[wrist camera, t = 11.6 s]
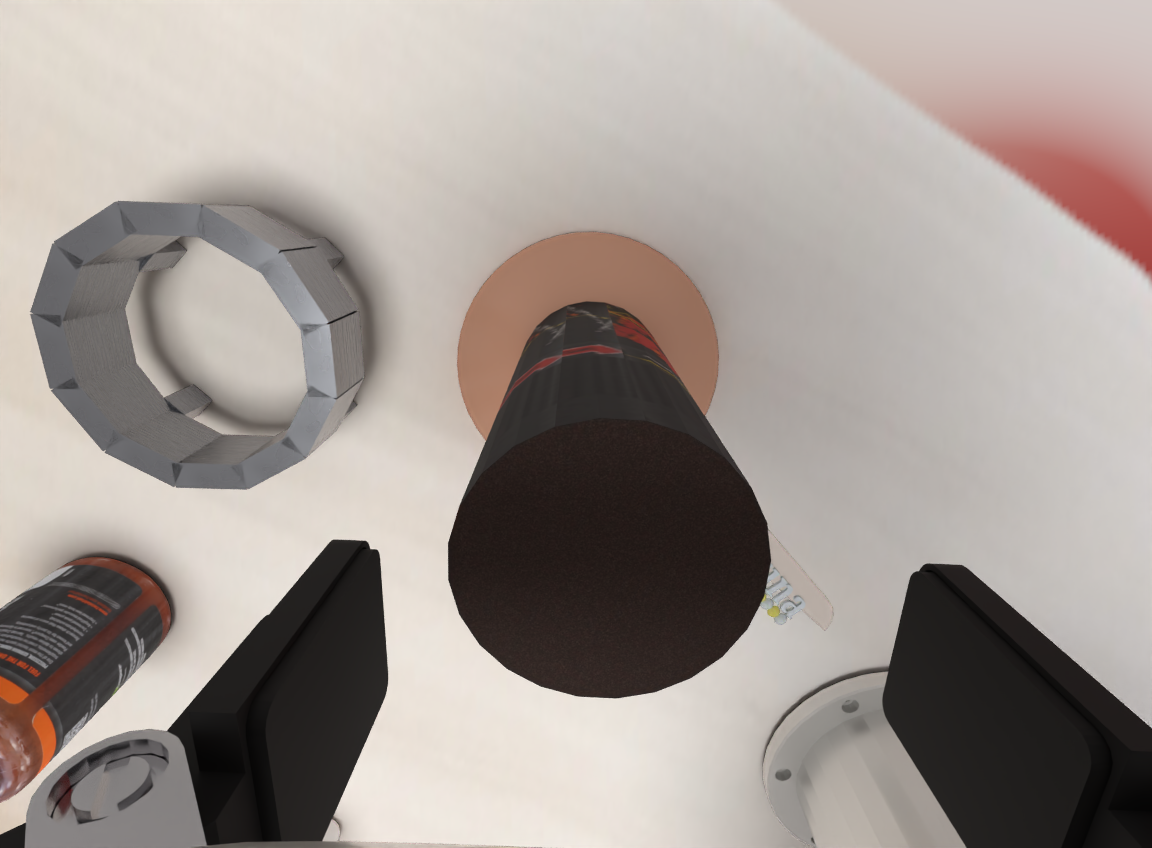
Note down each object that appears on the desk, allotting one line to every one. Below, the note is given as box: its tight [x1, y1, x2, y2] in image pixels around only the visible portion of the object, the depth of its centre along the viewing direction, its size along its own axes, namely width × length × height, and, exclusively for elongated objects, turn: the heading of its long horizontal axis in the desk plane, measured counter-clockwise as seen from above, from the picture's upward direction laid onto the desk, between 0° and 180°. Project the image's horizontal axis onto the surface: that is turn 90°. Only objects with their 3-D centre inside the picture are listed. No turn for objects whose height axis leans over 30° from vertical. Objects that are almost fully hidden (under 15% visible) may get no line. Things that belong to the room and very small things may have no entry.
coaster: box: [457, 232, 719, 440], centre depth 26 cm, size 11×11×1 cm
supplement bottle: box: [0, 557, 171, 803], centre depth 24 cm, size 6×6×11 cm
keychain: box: [761, 530, 833, 631], centre depth 29 cm, size 10×1×3 cm
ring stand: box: [30, 201, 365, 490], centre depth 23 cm, size 10×10×5 cm
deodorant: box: [448, 301, 771, 698], centre depth 18 cm, size 6×6×15 cm
